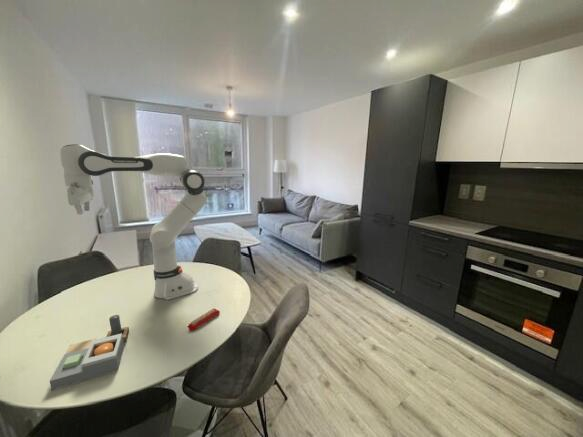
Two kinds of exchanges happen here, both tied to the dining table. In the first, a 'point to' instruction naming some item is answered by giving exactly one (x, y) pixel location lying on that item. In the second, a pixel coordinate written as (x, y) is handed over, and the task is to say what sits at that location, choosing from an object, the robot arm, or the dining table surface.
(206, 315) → the candy bar
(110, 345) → the plunger
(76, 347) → the pad
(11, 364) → the dining table surface
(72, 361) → the on button
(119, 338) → the grey boxy piece
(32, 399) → the dining table surface
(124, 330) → the stand
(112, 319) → the grey rounded rod
